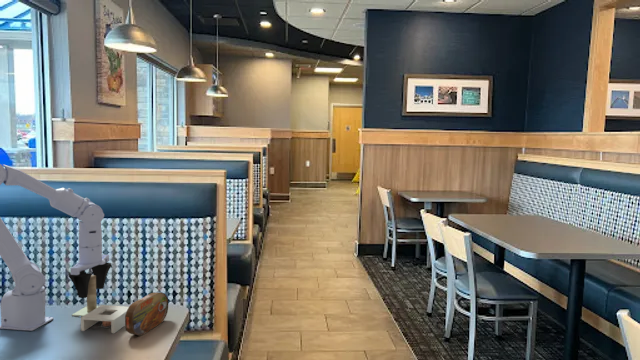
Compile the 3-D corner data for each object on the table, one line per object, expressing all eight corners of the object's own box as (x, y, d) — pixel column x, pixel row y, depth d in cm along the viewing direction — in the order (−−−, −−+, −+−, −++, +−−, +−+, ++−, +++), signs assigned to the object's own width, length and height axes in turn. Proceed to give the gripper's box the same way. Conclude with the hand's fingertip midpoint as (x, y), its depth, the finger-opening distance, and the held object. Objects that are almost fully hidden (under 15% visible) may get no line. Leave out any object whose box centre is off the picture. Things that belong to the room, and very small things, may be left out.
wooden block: (85, 312, 125) (84, 277, 124) (90, 308, 128) (89, 274, 127) (93, 312, 125) (92, 277, 124) (98, 309, 127) (97, 275, 127)
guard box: (81, 330, 114) (80, 317, 114) (101, 317, 123) (101, 304, 123) (114, 333, 113) (114, 319, 113) (132, 319, 122) (132, 307, 122)
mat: (71, 316, 123) (71, 314, 123) (87, 306, 130) (87, 305, 130) (95, 317, 123) (95, 316, 123) (110, 308, 130) (110, 307, 130)
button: (100, 325, 117) (100, 320, 117) (106, 321, 119) (106, 316, 119) (109, 326, 117) (109, 320, 116) (115, 322, 119) (115, 317, 119)
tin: (133, 341, 109) (133, 307, 108) (122, 339, 110) (122, 306, 109) (169, 318, 124) (169, 288, 123) (159, 316, 124) (159, 287, 124)
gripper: (87, 252, 117) (88, 302, 118) (118, 240, 132) (118, 285, 133) (62, 250, 118) (63, 300, 119) (95, 239, 132) (96, 284, 133)
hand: (91, 292), depth 126 cm, fingers open, 7 cm apart
